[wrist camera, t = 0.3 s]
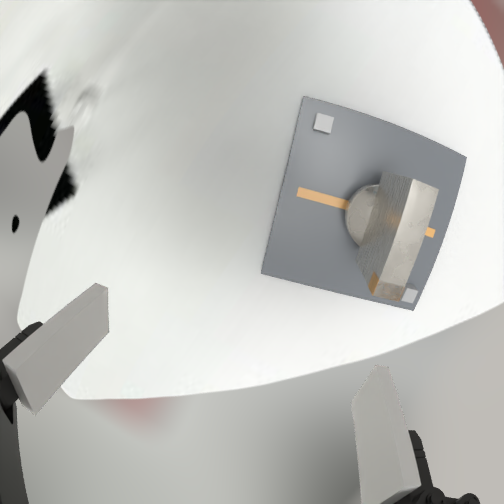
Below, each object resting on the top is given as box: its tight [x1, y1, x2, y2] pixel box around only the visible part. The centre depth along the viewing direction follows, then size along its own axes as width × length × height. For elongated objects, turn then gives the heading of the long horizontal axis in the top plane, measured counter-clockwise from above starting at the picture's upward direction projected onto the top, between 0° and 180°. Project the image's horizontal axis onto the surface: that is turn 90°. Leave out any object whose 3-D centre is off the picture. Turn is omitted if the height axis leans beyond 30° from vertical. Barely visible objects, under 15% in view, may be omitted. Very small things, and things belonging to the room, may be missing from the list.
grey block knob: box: [345, 171, 439, 302], centre depth 28 cm, size 11×8×11 cm
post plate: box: [261, 96, 467, 311], centre depth 35 cm, size 24×24×3 cm
